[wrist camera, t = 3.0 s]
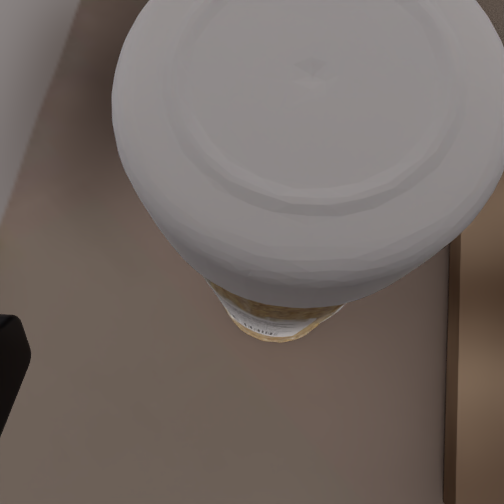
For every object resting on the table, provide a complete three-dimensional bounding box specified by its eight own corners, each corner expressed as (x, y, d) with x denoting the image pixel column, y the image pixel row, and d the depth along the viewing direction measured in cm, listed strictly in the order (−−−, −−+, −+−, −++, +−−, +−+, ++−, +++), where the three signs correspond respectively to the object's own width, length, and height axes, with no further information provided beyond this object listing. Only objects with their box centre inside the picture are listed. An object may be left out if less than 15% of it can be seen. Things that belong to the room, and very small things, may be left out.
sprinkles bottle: (353, 299, 17) (634, 111, 4) (262, 367, 17) (266, 388, 4) (285, 212, 18) (347, -155, 5) (197, 274, 18) (21, 32, 5)
